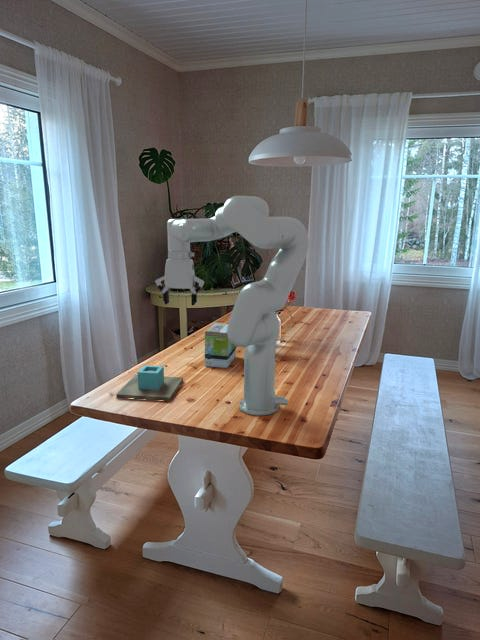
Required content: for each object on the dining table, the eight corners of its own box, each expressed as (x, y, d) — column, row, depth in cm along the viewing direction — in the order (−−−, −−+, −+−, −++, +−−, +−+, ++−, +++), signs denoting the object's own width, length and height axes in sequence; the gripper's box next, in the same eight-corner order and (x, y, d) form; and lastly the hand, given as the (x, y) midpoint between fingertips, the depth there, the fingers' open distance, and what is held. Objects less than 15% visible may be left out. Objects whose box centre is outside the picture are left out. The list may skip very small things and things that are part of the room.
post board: (183, 381, 163) (182, 364, 162) (169, 401, 146) (169, 383, 144) (135, 378, 165) (134, 361, 164) (116, 398, 148) (115, 380, 146)
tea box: (228, 368, 177) (228, 332, 174) (203, 366, 179) (203, 330, 176) (236, 356, 191) (236, 323, 188) (213, 355, 193) (213, 321, 190)
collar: (164, 382, 158) (163, 366, 157) (158, 390, 151) (157, 373, 150) (144, 381, 159) (144, 365, 157) (138, 388, 152) (137, 372, 151)
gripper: (205, 255, 157) (206, 302, 161) (158, 253, 159) (159, 301, 163) (201, 257, 150) (202, 307, 154) (151, 256, 152) (153, 305, 156)
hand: (180, 304), depth 158 cm, fingers open, 9 cm apart
